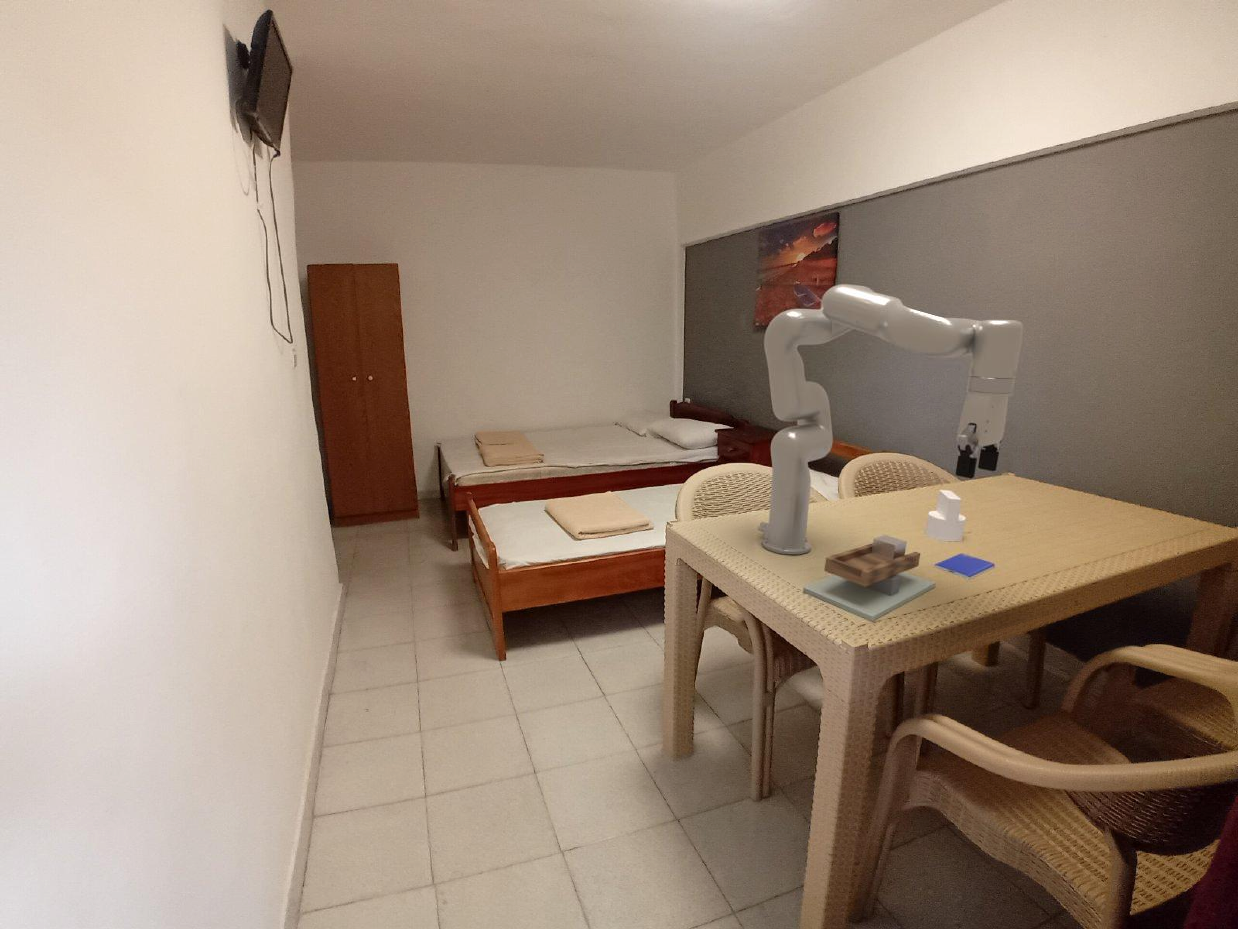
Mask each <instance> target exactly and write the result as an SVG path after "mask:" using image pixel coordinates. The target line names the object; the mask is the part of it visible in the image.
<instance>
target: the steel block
mask: <svg viewBox="0 0 1238 929" xmlns="http://www.w3.org/2000/svg"><path fill="white" fill-rule="evenodd" d="M872 543H873V546H872V553H871V556H874V557H877V558H880V559H883V560H886V561H890V560H893V559H896V558H899V557H902V556H904V555H906V550H907V543H908V542H907V540H903V539H901V538H900V539H899V538H897V537H892V536H890V535H887V534H885V535H881V536H877V537H873V542H872Z"/></svg>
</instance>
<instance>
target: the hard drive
mask: <svg viewBox="0 0 1238 929" xmlns="http://www.w3.org/2000/svg"><path fill="white" fill-rule="evenodd" d="M995 566H996V565H995V563H994V562H991V561H988V560H984V559H982V558H979V557H978V558H977V557H974V556H971V555H970V554H969V555H968V554H966V553H965V554H964V553H958V554H956V555H954V556H952V557H949V558H947V559H944V560H942V561H939V562H937V563H935V564H934V565H933V568H935V569H937V568H938V570H940V569H941V570H940V571H943V570H944V572H946V573H950V574H952V575H954V576H958V577H960V576H961V578H964V579H966V578H968V579H967V580H970V578H971V579H973V578H975V577H977V576H976V575H978V576H979V574H980V575H981V573H982V574H984V573H985V572H988V571H989V569H990V568H992V569H994V568H995ZM993 567H994V568H993ZM987 570H988V571H987ZM990 570H991V569H990ZM983 572H984V573H983Z"/></svg>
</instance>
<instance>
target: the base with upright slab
mask: <svg viewBox="0 0 1238 929" xmlns="http://www.w3.org/2000/svg"><path fill="white" fill-rule="evenodd" d="M961 505H962V499H961V498H960V497H959V496H958V495H957V494H956V493H955V492H953V491H952V490H945V489H939V490H938V496H937V501H936V508H935V510H930V511H928V514H927V518H926V519H927V521H926V527H925V535H926V536H927V537H928V538H930V537H931V539H932V538H933V540H935V539H937V540H936V541H939V540H940V541H939V542H944V541H949V542H948V543H955V542H954V541H959V542H961V540H962V541H963V537H964V530H965V525H966V516H964V515H962V514H961V513H960V511H961ZM950 541H951V542H950Z"/></svg>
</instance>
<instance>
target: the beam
mask: <svg viewBox="0 0 1238 929" xmlns="http://www.w3.org/2000/svg"><path fill="white" fill-rule="evenodd" d="M872 546H873V542H872V543H868V544H866V545H863V546H858V547H856V548H853V549H849V550H845V551H843V552H841V553H836V554H833V555H830V556H827V557H825V562H824V572H826V573H829V574H832V575H836V576H839V577H842V578H844V579H847V580H849V581H852V582H855V583H857V584H860V585H862V586H868V585H871V584H873V583H876V582H878V581H881V580H884V579H886V578H889V577H891V576H894V575H896V574H899V573H902V572H906V571H909V570H911V569H914V568H917V567H919V565H920V558H921V553H920V552H918V551H913V552H911V553H907V554H905V555H904V556H902V557H899V558H896V559H893V560H890V561H886V560H883V559H880V558H877V557H874V556H871V553H872Z"/></svg>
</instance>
